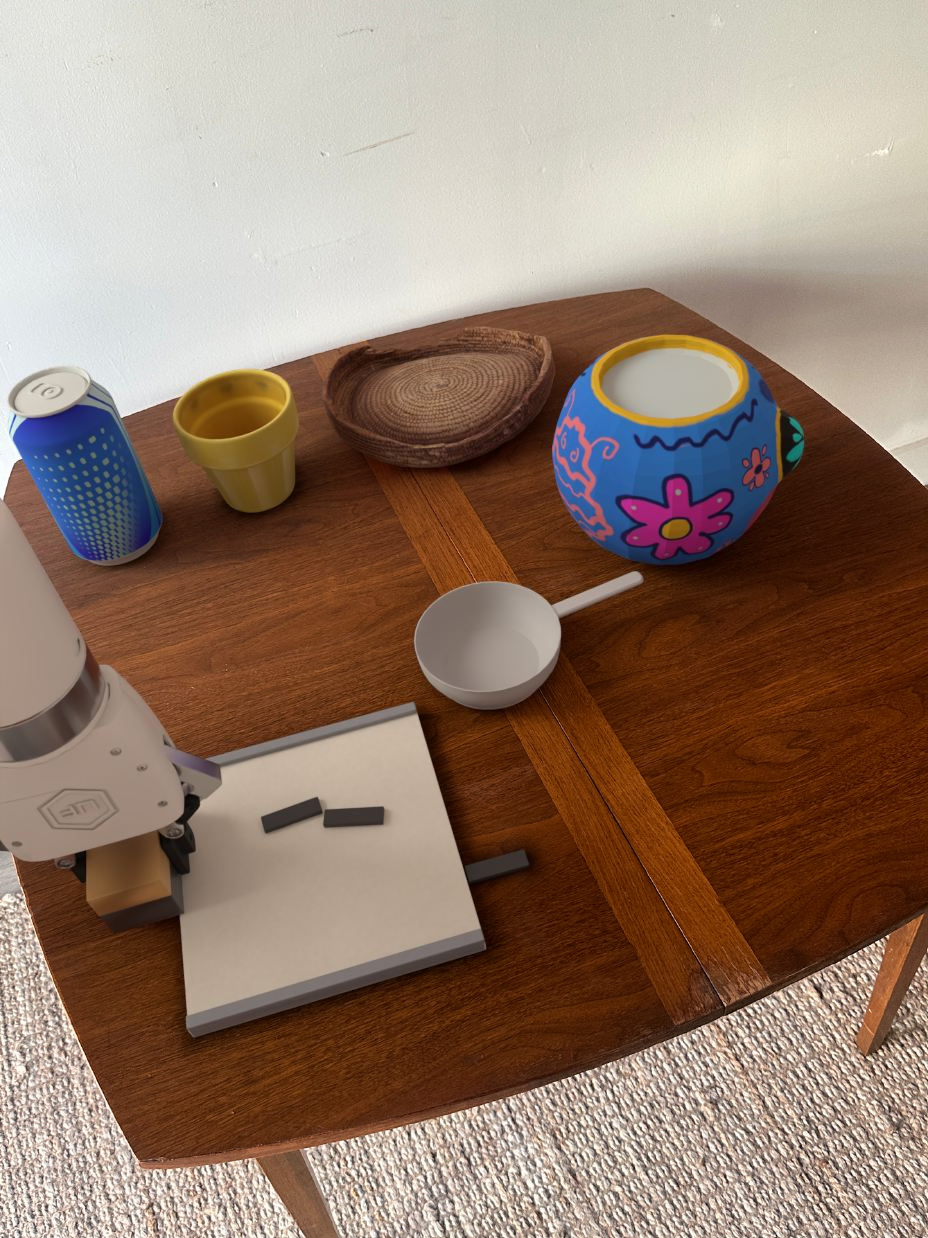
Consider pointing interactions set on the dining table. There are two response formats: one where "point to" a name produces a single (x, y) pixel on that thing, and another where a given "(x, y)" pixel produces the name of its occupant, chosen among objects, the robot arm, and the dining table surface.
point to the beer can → (84, 464)
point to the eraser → (133, 883)
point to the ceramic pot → (671, 448)
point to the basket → (439, 396)
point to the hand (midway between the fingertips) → (143, 865)
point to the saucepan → (497, 639)
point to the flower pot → (242, 435)
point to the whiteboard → (320, 873)
